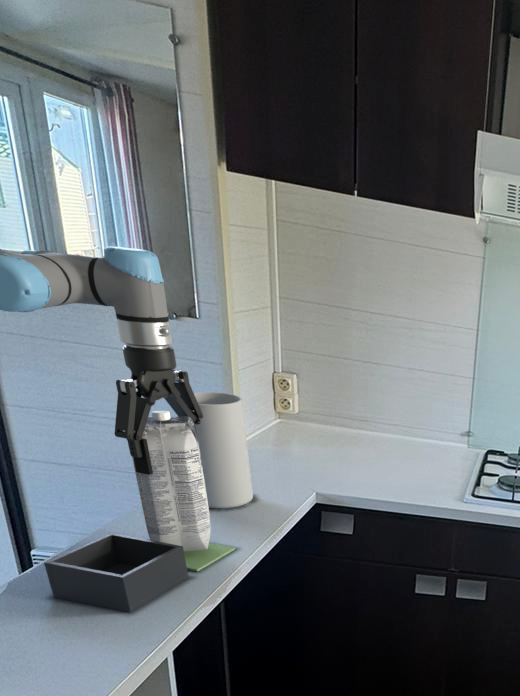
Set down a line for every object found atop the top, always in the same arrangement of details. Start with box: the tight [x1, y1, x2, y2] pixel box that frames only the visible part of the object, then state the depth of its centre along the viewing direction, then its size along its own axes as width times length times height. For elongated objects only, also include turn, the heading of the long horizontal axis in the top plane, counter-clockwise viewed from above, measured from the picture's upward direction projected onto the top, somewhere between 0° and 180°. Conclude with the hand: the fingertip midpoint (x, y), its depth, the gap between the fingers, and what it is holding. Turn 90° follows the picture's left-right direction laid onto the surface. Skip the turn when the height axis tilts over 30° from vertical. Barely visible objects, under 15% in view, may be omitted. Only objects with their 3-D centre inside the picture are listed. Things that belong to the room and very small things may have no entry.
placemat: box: [184, 542, 236, 572], centre depth 128 cm, size 14×11×1 cm
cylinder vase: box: [193, 391, 254, 509], centre depth 149 cm, size 12×12×25 cm
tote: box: [43, 532, 190, 613], centre depth 113 cm, size 15×14×7 cm
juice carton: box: [131, 410, 212, 552], centre depth 121 cm, size 9×10×27 cm
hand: (169, 464), depth 120 cm, fingers closed on juice carton, 11 cm apart
